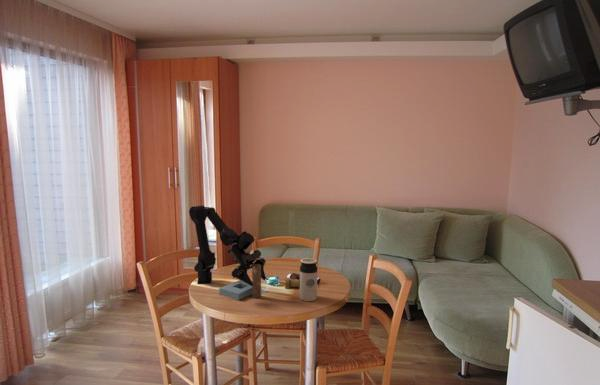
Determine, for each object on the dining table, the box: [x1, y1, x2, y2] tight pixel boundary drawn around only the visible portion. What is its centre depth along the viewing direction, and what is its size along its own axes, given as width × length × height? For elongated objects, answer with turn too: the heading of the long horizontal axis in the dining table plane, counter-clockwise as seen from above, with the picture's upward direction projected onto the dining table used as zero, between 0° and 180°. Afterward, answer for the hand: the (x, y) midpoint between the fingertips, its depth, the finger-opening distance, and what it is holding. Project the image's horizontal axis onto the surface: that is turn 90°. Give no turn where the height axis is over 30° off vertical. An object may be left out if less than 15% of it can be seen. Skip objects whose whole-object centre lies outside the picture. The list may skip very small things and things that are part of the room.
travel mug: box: [299, 257, 318, 302], centre depth 173 cm, size 8×8×18 cm
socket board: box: [218, 279, 252, 301], centre depth 181 cm, size 12×16×3 cm
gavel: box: [284, 272, 300, 289], centre depth 197 cm, size 21×5×10 cm
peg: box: [251, 264, 262, 299], centre depth 175 cm, size 4×4×15 cm
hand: (258, 282), depth 174 cm, fingers open, 9 cm apart
